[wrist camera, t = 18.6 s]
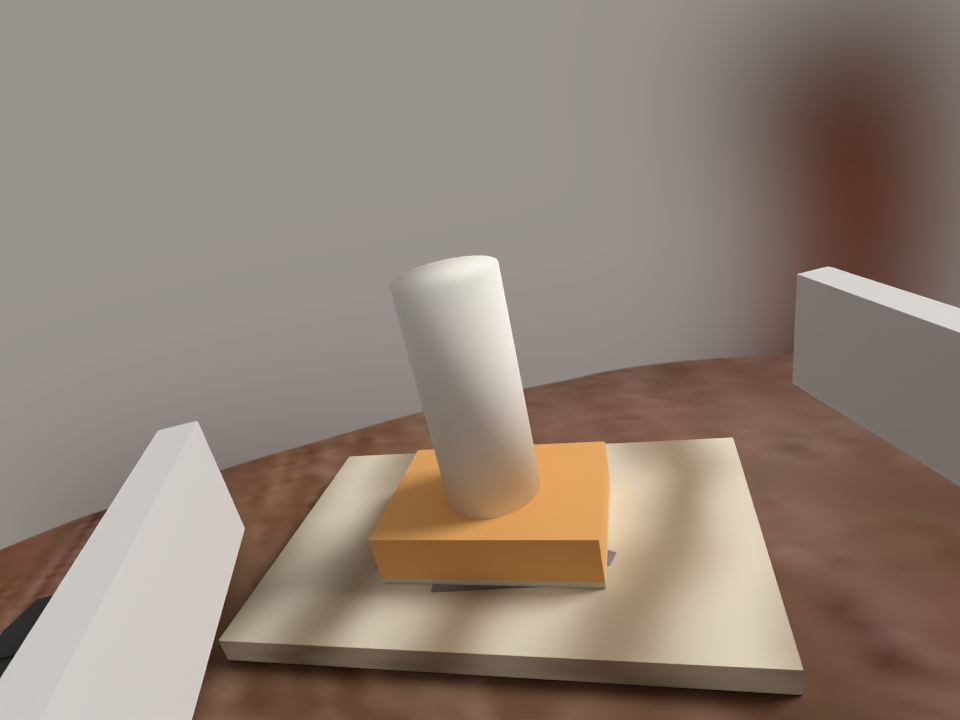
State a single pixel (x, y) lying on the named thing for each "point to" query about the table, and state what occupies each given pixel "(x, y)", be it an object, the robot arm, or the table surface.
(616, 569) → the plywood board
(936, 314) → the robot arm
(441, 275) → the block
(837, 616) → the table surface
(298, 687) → the table surface
